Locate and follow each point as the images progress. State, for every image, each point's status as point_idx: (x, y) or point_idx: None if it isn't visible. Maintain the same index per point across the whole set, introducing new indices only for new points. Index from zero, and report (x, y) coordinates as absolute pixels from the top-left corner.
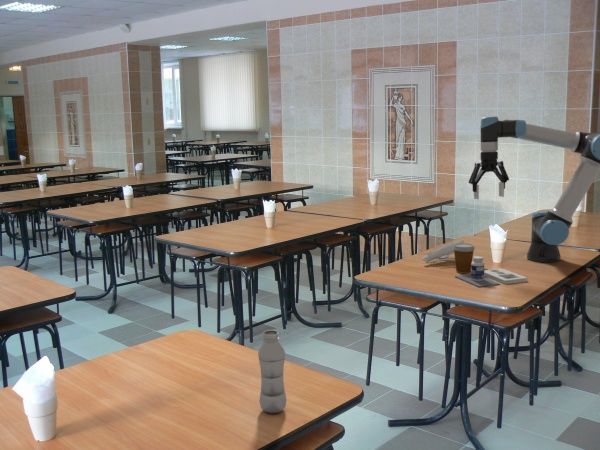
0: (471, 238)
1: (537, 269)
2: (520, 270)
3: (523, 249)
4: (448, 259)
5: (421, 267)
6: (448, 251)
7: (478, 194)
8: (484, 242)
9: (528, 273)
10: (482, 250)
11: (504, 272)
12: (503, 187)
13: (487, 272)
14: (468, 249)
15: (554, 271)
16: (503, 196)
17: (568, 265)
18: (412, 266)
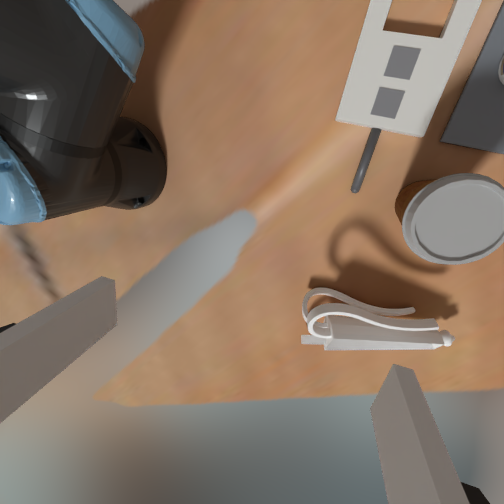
0: (134, 394)
1: (223, 78)
2: (273, 100)
3: (106, 266)
4: (361, 303)
5: (473, 313)
6: (358, 319)
7: (415, 413)
8: (134, 359)
9: (284, 50)
10: (187, 320)
11: (381, 63)
12: (10, 333)
13: (428, 100)
14: (483, 178)
15: (200, 23)
16: (103, 278)
17: None
18: (481, 337)
